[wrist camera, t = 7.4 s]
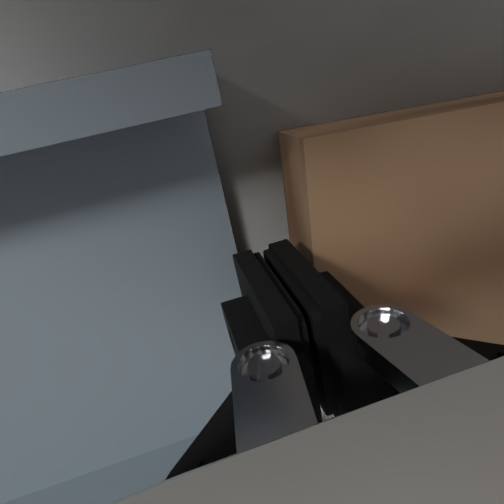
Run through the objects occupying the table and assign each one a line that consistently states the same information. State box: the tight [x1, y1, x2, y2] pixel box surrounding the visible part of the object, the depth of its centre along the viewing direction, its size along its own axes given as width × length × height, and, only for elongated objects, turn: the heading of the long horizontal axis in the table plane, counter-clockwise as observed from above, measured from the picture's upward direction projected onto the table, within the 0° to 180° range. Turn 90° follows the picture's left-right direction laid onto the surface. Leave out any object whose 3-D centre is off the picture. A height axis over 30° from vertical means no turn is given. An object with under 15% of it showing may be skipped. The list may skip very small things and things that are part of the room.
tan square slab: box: [278, 91, 504, 345], centre depth 14 cm, size 9×10×2 cm
